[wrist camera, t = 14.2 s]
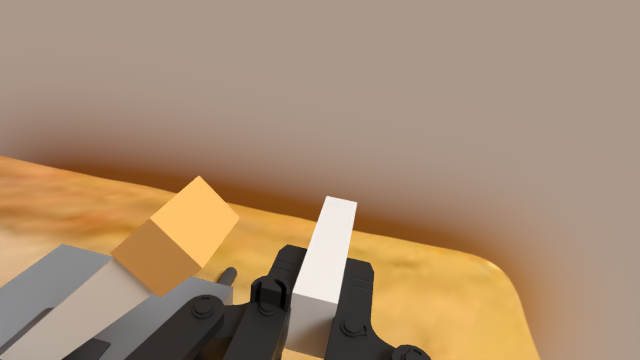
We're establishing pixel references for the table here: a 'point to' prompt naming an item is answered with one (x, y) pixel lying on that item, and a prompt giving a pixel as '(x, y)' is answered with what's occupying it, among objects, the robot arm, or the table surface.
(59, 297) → the grey power plug
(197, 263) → the breaker lever
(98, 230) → the table surface
